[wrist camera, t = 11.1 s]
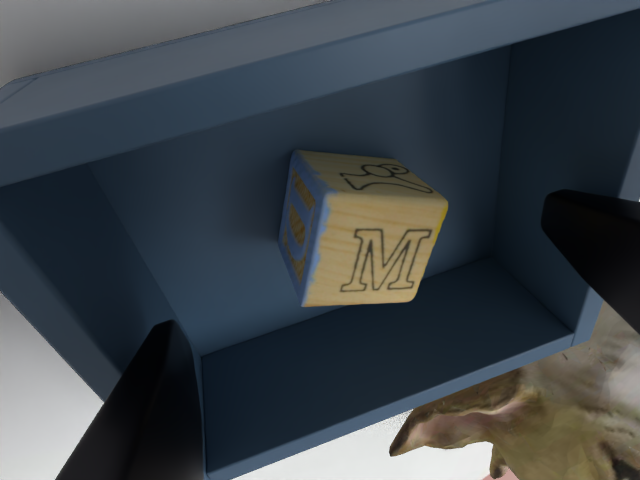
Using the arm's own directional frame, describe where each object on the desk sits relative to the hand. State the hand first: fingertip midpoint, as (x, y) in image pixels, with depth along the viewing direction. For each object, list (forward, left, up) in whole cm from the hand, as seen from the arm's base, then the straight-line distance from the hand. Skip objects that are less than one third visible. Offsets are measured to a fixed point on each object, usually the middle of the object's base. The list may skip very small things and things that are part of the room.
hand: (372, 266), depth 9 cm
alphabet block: (0, 0, -3) cm, 3 cm away
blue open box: (0, 0, -4) cm, 4 cm away
